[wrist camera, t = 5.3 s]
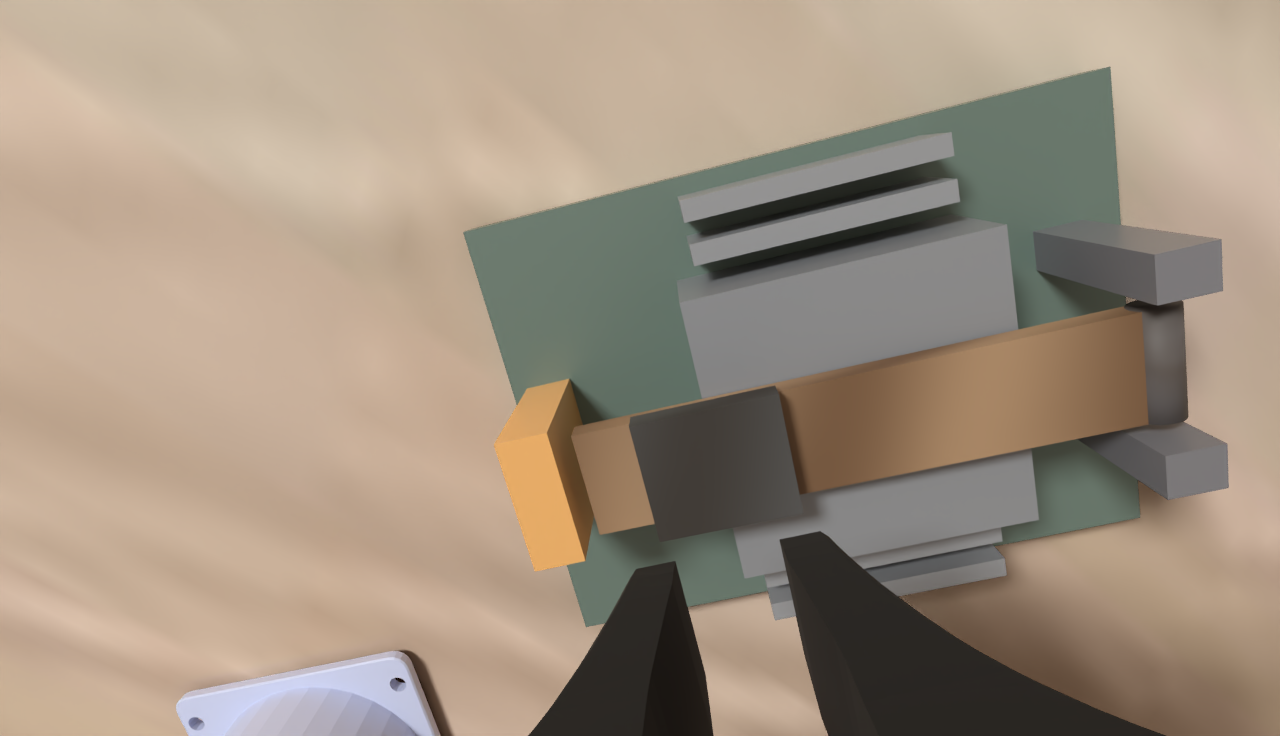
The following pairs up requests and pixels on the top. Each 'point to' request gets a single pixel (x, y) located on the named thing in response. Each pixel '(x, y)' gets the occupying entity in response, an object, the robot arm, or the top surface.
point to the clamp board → (1000, 179)
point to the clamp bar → (883, 421)
